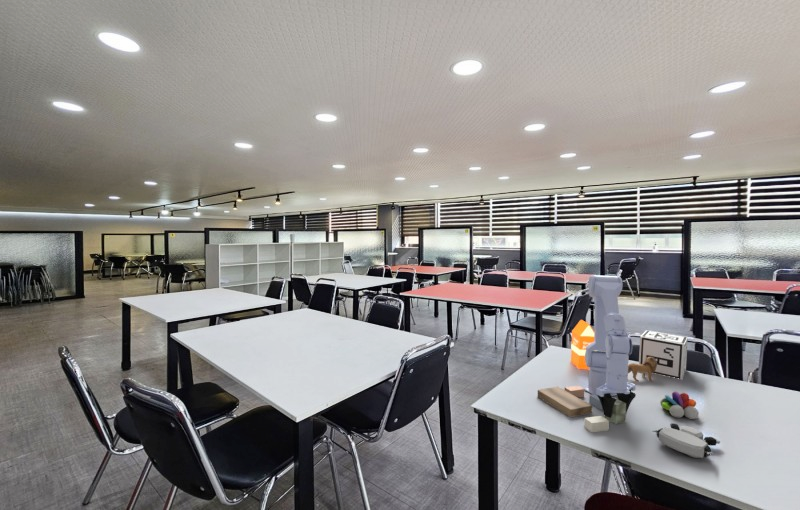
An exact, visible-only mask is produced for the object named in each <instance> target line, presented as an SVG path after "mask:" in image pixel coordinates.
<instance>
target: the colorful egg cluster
mask: <svg viewBox="0 0 800 510" xmlns="http://www.w3.org/2000/svg"><path fill="white" fill-rule="evenodd" d="M659 404H660V406H661V408H663V409H664V410H667V411H668V412H669V413H670V415H671V416H672V417H674V418H677V419H679V418H680V419H681V418H682V417H686V418H687V419H691V420H696V419H697V418H698V417H699V410H698V409H697V408H696V405H697V402H696V400H695V399H694V398H693V399H692V398H690V396H689V394H688V393H686V392H682V393H679V392H677V391H673V392H672V394H671V396H670V395H668V394H666V395H664V397H662V398H661V399H660V401H659Z"/></svg>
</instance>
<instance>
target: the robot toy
mask: <svg viewBox="0 0 800 510" xmlns="http://www.w3.org/2000/svg"><path fill="white" fill-rule="evenodd" d="M669 425H670V427H663V428H659V429H658V430H651V432H652V433H655V434H656V437H657V438H658V440H659V441H660V442H661V443H662V444H663V445H665V446H666V447H667V448H670V449H673V450H675V451H676V452H680V453H682V454H685V455H688V456H689V457H691V458H694V459H697V458H698V459H703V457H704V458H708V457H709V456H711V455H713V454H714V453H713V451H712V449H711V447H712V446H713V447H714V446H717V445H719V444H720V443H721V441H720V440H718V439H717V438H714V437H712V436H705V437H704V434H703V432H702V431H700V430H699V429H697V428H695V427H691V426H687V425H682V426H680V425H678V424H677V423H672V422H670V424H669ZM710 446H711V447H710Z"/></svg>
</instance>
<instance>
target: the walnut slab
mask: <svg viewBox="0 0 800 510" xmlns="http://www.w3.org/2000/svg"><path fill="white" fill-rule="evenodd" d="M537 397H538V399H540V400H542V401H544V402H546V403H547V404H549V405H550V406H552V407H554V409H557V410H558V411H560V412H561V413H563V414H565V415H566V416H567V417H570V418H574V417H577V416H578V417H579V416H583V415H587V414H589V415H590V414H592V413H593V412H592V411H593V405H592V404H590V403H589V402H587V401H585V400H583V399H581V398H580V397H578V398H577V397H576V396H574V395H572V394H570V393H568V392H566V391H565V389H563V388H560V387H559V386H553V387H548V388H541V389H537Z"/></svg>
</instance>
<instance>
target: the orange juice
mask: <svg viewBox="0 0 800 510" xmlns="http://www.w3.org/2000/svg"><path fill="white" fill-rule="evenodd" d="M592 342H594V330H593V328H592V327H591V325H590V323H588V322H587V321H584V320H583V319H580V320H579V321H578V323H577V324H576V325H575V326H574V328H573V329H572V330H571V345H570V346H571V347H570V350H571V351H570V353H571V354H570V362H571V363H572V364H573V365H574V366H575V367H576V368H577V369H578V370H589V367H587V366H586V364H585V352H586V346H587V345H589V344H591V343H592ZM594 351H597V350H594Z"/></svg>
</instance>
